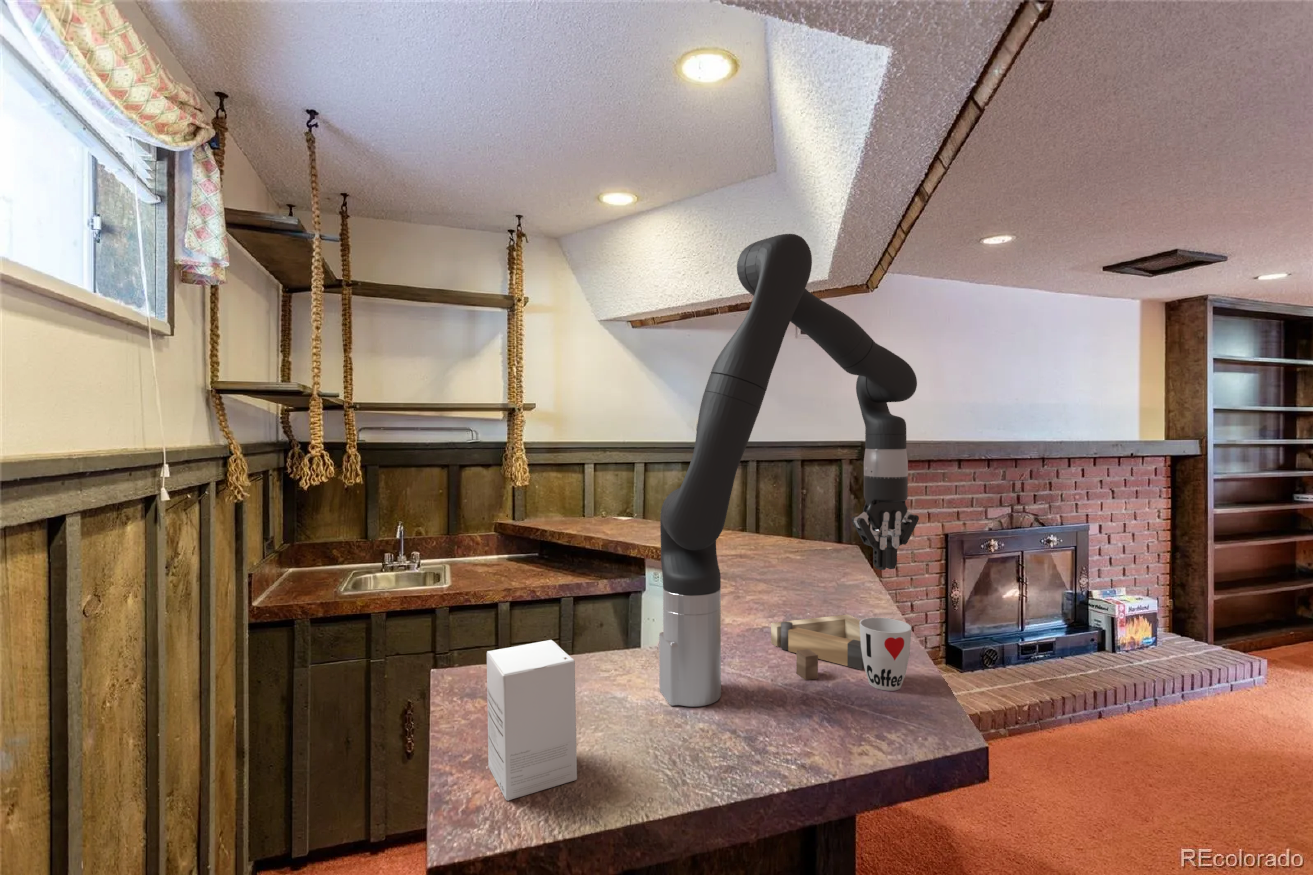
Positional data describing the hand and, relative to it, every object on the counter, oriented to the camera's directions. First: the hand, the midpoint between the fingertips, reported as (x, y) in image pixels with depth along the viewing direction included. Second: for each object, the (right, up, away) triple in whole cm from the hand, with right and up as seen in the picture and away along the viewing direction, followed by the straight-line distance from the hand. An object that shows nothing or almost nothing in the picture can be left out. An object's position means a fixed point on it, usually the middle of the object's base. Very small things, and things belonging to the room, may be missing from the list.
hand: (885, 568), depth 114 cm
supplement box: (-57, -18, -36) cm, 70 cm away
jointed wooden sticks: (-9, -17, +4) cm, 20 cm away
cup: (-4, -17, -10) cm, 20 cm away
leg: (-11, -17, +2) cm, 20 cm away
